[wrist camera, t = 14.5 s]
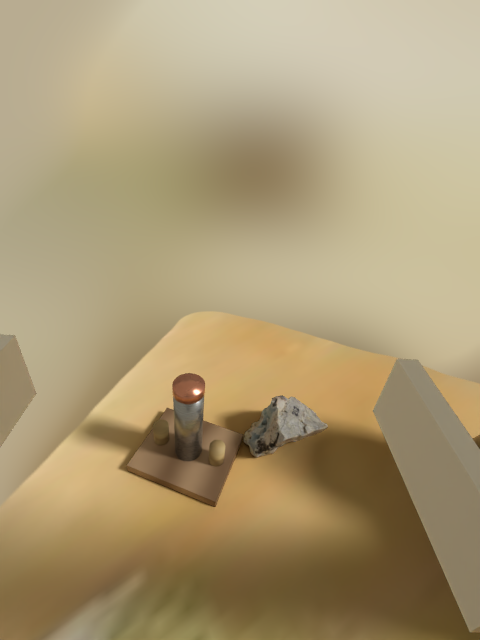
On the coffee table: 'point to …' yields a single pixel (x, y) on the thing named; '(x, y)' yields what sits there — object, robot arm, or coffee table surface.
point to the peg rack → (187, 476)
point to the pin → (188, 415)
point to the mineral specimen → (282, 426)
